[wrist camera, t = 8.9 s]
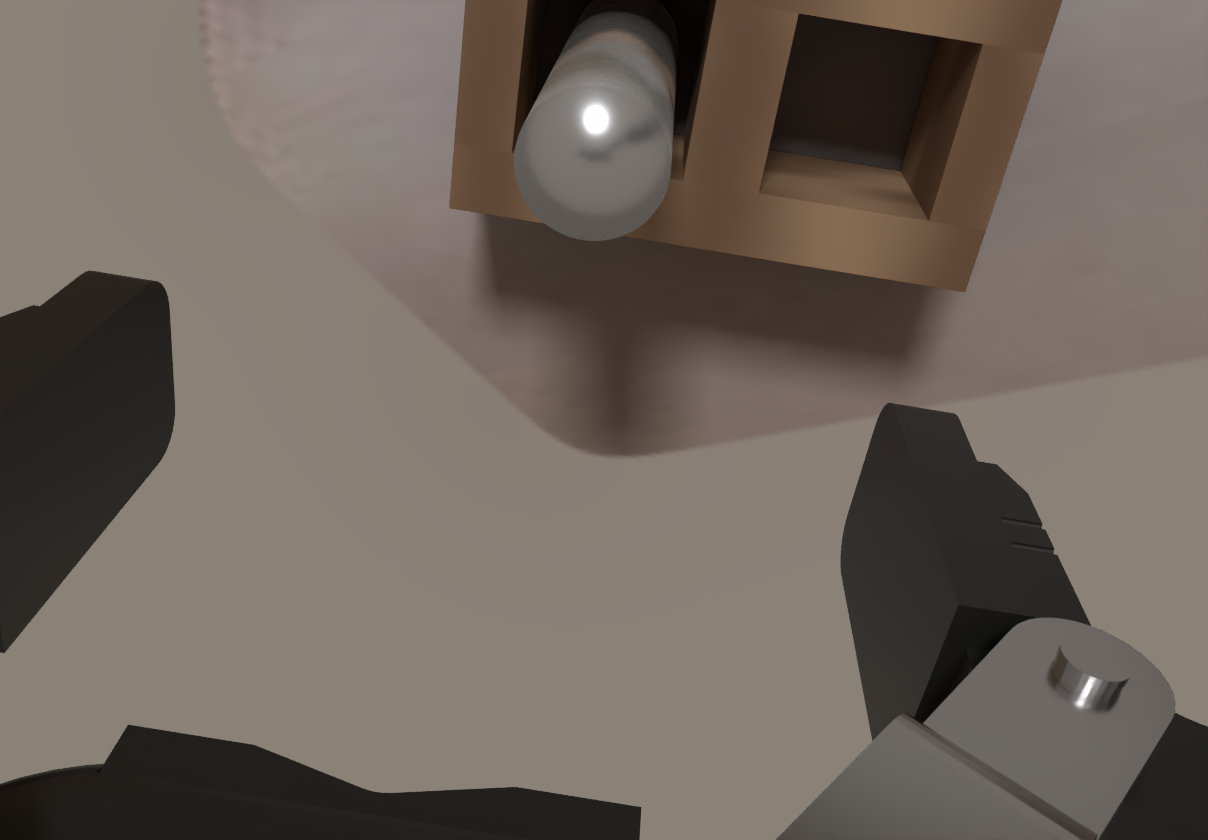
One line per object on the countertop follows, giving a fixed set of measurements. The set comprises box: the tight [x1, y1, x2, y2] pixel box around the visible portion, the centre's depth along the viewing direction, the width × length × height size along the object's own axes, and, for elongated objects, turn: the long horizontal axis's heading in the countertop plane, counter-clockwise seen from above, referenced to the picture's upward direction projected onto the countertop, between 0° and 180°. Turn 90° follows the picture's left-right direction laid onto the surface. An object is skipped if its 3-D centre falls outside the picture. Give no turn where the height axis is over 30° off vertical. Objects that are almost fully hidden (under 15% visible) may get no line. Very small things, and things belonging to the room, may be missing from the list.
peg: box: [514, 0, 678, 241], centre depth 26 cm, size 3×3×12 cm
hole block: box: [449, 0, 1062, 292], centre depth 29 cm, size 14×8×4 cm, turn 82°
